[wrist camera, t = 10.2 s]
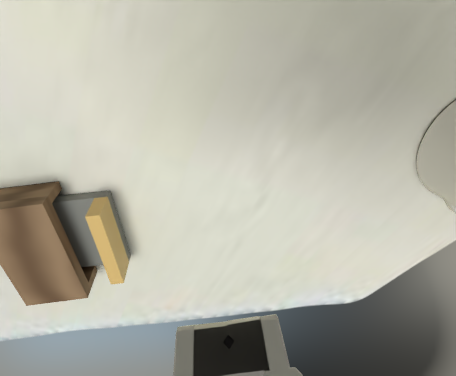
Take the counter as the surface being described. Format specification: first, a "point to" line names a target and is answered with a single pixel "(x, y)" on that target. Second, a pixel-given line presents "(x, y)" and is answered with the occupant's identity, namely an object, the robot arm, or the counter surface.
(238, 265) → the counter surface
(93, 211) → the grey board with lip
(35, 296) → the overhang shelf
